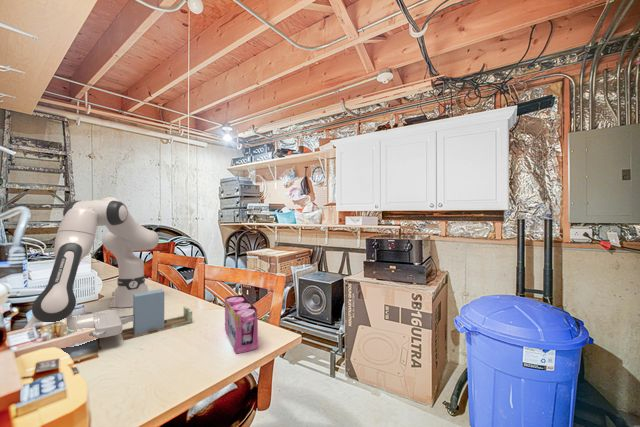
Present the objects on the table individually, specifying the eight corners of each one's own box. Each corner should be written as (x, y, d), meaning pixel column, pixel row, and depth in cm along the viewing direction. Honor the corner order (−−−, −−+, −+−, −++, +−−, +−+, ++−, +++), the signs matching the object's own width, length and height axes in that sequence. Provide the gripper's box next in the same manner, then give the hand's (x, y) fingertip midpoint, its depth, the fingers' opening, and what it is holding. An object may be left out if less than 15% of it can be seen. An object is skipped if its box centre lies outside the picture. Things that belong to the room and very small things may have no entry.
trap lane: (120, 334, 108) (120, 320, 108) (185, 318, 124) (185, 306, 124) (123, 342, 101) (123, 326, 101) (192, 324, 117) (192, 311, 117)
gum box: (259, 351, 95) (259, 311, 95) (236, 356, 91) (236, 315, 91) (243, 326, 116) (243, 294, 116) (224, 329, 112) (224, 296, 112)
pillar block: (133, 331, 109) (133, 293, 109) (161, 324, 115) (161, 289, 116) (135, 335, 105) (135, 296, 105) (164, 328, 112) (164, 291, 112)
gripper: (88, 327, 90) (138, 316, 99) (86, 310, 105) (130, 303, 115) (88, 346, 90) (138, 334, 99) (86, 327, 105) (130, 318, 115)
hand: (133, 317), depth 107 cm, fingers closed
